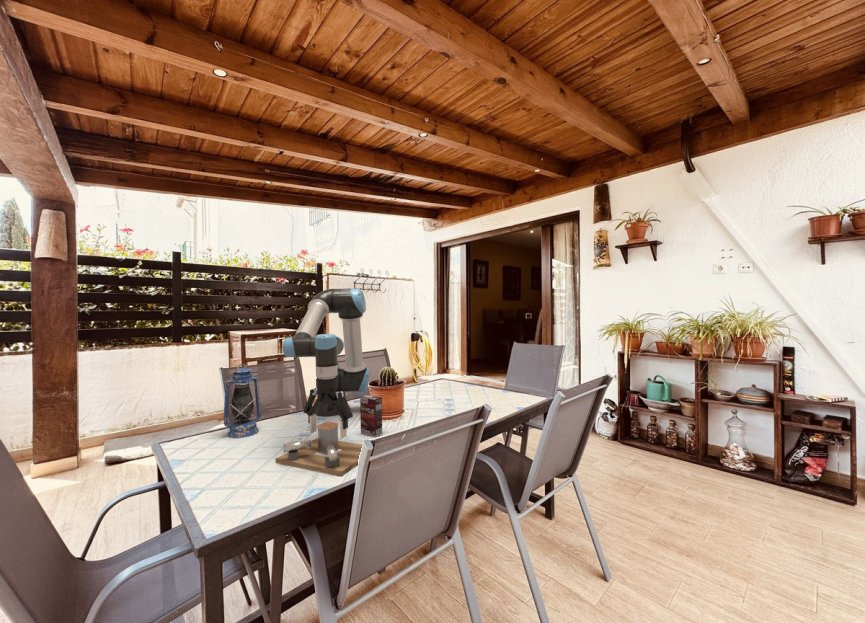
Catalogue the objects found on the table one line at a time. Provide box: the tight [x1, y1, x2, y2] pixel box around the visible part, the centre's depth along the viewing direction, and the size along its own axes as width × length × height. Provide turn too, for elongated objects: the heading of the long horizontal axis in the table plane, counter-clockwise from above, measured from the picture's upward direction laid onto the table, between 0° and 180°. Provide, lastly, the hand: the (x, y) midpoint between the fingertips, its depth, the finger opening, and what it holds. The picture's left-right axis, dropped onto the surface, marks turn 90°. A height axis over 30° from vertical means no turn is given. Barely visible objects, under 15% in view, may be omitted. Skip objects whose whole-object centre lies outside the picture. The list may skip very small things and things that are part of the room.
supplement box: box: [359, 394, 383, 438], centre depth 159 cm, size 9×5×16 cm, turn 58°
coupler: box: [317, 421, 339, 455], centre depth 136 cm, size 5×5×10 cm
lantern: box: [223, 363, 262, 439], centre depth 162 cm, size 15×12×30 cm
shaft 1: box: [283, 439, 312, 461], centre depth 132 cm, size 9×4×5 cm, turn 112°
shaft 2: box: [325, 443, 340, 469], centre depth 126 cm, size 9×4×5 cm, turn 22°
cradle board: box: [275, 437, 363, 477], centre depth 136 cm, size 22×28×2 cm
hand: (328, 435), depth 136 cm, fingers open, 13 cm apart
